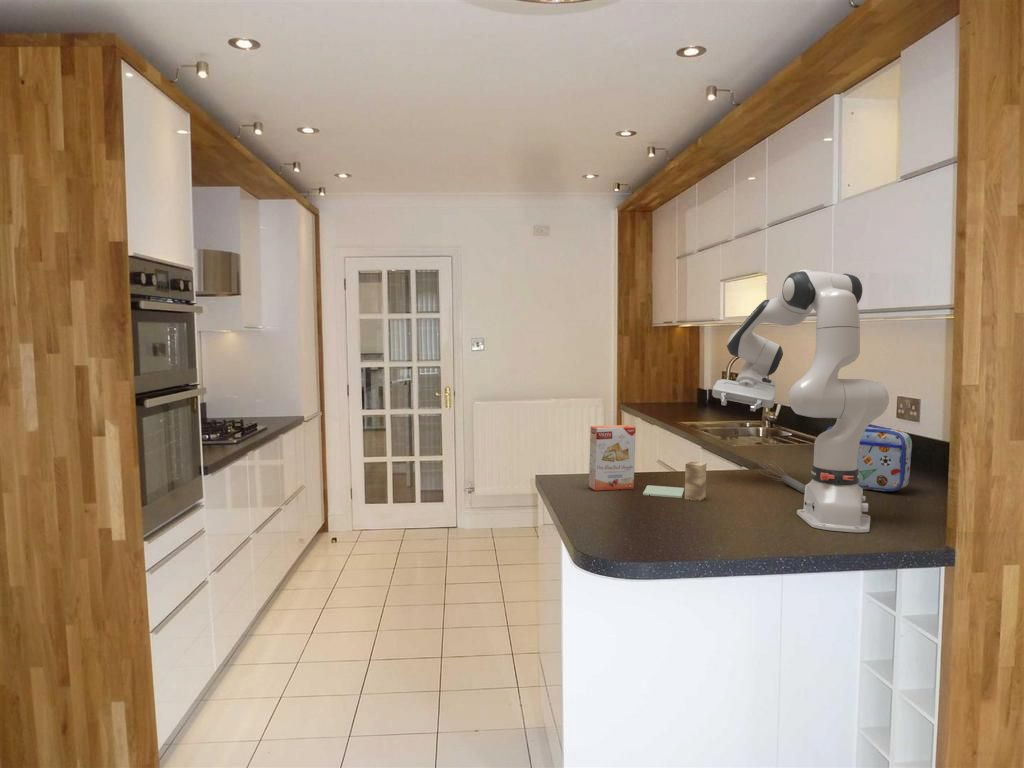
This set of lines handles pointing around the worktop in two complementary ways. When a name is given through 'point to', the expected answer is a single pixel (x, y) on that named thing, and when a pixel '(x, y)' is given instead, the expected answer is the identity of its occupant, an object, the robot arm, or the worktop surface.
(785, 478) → the kitchen whisk
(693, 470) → the oak pillar
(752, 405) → the robot arm
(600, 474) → the cracker box
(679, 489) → the mat
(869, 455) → the lunch box
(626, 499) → the worktop surface
